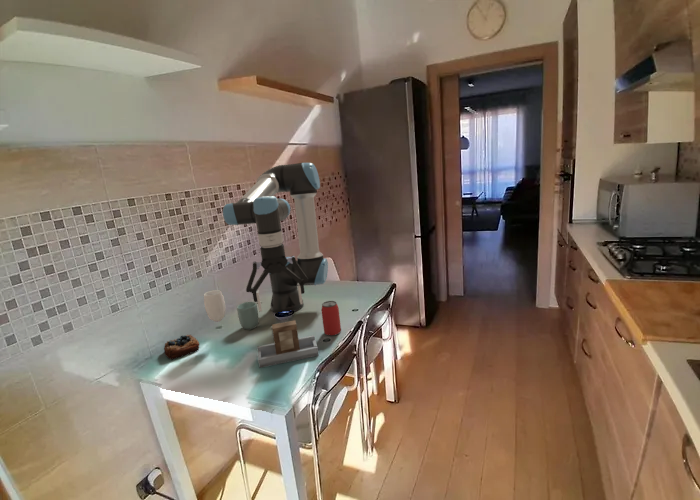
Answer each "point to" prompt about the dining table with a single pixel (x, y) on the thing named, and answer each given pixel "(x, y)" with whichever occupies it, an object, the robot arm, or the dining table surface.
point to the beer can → (331, 318)
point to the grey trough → (269, 352)
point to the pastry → (181, 347)
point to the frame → (285, 337)
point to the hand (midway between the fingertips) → (281, 306)
